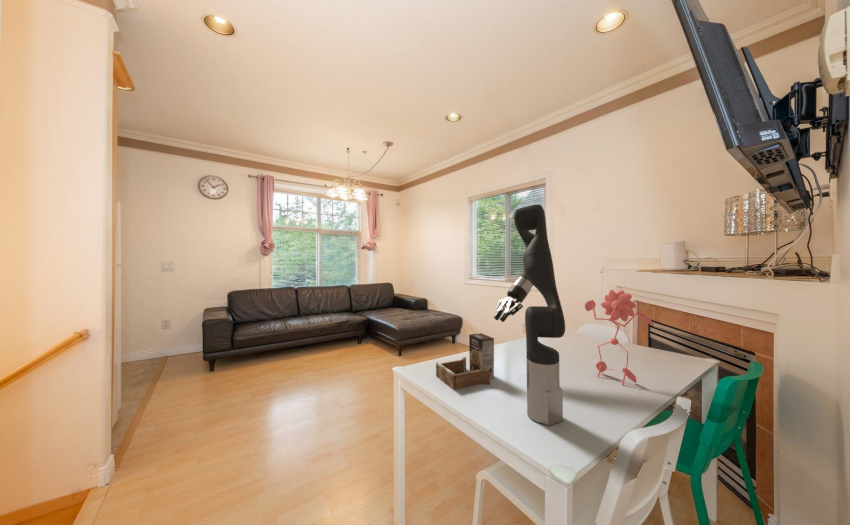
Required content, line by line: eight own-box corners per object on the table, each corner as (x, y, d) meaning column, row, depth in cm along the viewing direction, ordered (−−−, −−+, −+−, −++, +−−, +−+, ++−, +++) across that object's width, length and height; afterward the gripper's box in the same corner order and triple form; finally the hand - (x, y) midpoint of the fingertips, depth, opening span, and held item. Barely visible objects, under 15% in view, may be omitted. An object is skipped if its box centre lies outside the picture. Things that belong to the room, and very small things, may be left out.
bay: (491, 384, 113) (490, 369, 113) (456, 392, 106) (456, 376, 106) (465, 368, 129) (465, 355, 129) (433, 374, 123) (433, 361, 123)
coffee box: (468, 372, 125) (468, 334, 125) (481, 369, 127) (481, 332, 127) (481, 380, 116) (481, 339, 116) (494, 377, 119) (494, 337, 119)
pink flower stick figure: (647, 394, 102) (647, 293, 102) (577, 371, 124) (577, 288, 125) (667, 385, 110) (667, 291, 110) (597, 365, 132) (597, 287, 132)
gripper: (504, 283, 136) (483, 311, 131) (527, 285, 123) (504, 317, 118) (513, 293, 138) (493, 322, 133) (536, 297, 125) (514, 328, 120)
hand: (498, 319), depth 125 cm, fingers open, 3 cm apart
